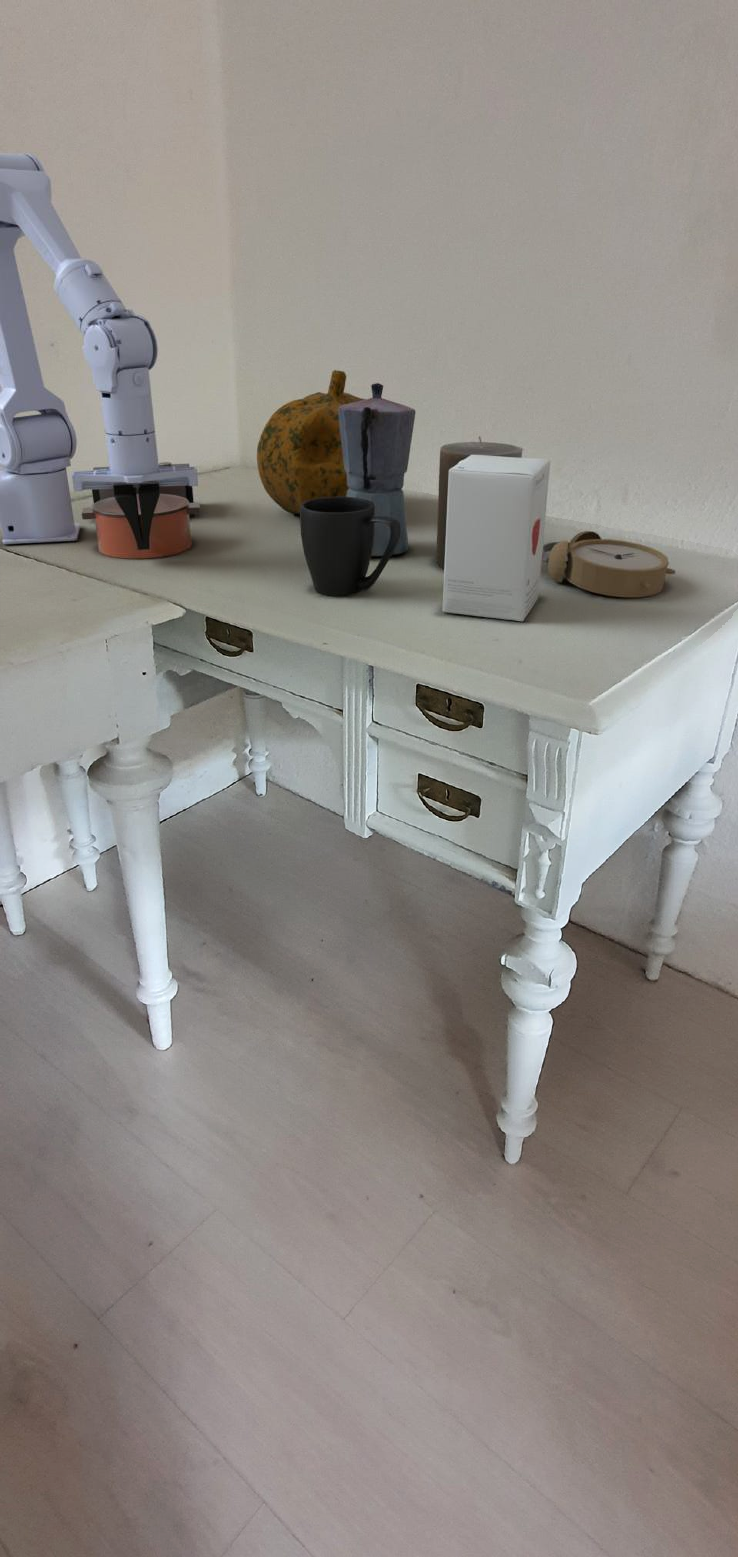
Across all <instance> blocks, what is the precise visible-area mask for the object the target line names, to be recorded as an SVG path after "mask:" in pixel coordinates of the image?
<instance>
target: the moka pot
mask: <svg viewBox="0 0 738 1557" xmlns="http://www.w3.org/2000/svg"><path fill="white" fill-rule="evenodd" d="M370 387H371V393H372V397H370V398H365V399H366V400H362V401H357V402H353V403H349V404H345V405H342V406H339V407H338V415H339V424H340V434H341V443H342V452H343V461H344V469H345V470H346V473H347V486H348V487H349V489H348V491H347V496H346V497H354V498H361V499H365V500H369V501H371V502H373V504H374V506H375V517H376V516H384V517H391V518H394V519H396V520H398V521H399V523H400V537H399V541H398V543H397V546H396V548H395V550H394V552H393V553H392V555H391V556H396V555H401V554H404V553H406V552H407V551H408V550H409V537H408V531H407V530H408V529H407V518H406V517H407V516H406V507H405V506H406V505H405V496H404V490H403V488H404V484H405V474H406V473H407V472H408V469H409V468H408V467H409V460H410V453H411V445H412V440H413V434H414V427H415V419H416V409H415V408H412V407H410V406H408V405H405V404H401V403H398V402H395V401H392V400H390V399H389V400H388V399H385V398H382V396H383V391H384V390H383V389H384V385H383V384H381V383H379V382H376V383H372V384H371V385H370ZM390 534H391V531H390V527H389V525H388V524H387V523H384V522H375V533H374V542H373V549H372V554H371V557H383V555H384V553H385V550H386V548H387V546H388V543H389V540H390Z"/></svg>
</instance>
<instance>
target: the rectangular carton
mask: <svg viewBox="0 0 738 1557" xmlns="http://www.w3.org/2000/svg"><path fill="white" fill-rule="evenodd" d="M550 468H551V459H546V458H535V457H522V458H515V457H501V456H487V455H470V456H469V457H467V458H466V459H464V460H462V461H460V462H459V463H458V464H457V465H456V466H454V467H452V468H451V469H450V470H449V478H448V500H447V522H446V545H445V567H444V568H443V569H444V571H443V590H442V591H443V592H442V613H449V614H457V615H466V616H475V617H483V618H491V619H499V620H500V619H501V620H508V621H517V622H523V621H524V620H525V619H526V617H527V616H528V615H529V613H530V611H531V610H532V608H533V607H534V605H535V603H536V602H537V601H538V599H539V595H540V584H541V573H542V562H543V559H542V552H543V545H544V540H545V527H546V514H547V504H548V493H549V481H550V470H551V469H550Z"/></svg>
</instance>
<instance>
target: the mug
mask: <svg viewBox="0 0 738 1557" xmlns="http://www.w3.org/2000/svg"><path fill="white" fill-rule="evenodd" d="M375 522H384V523H387V524H388V525H389V527H390V531H391V534H390V540H389V543H388V546H387V548H386V550H385V553H384V555H383V556H381V558H380V560H379V562H378V563H377V565H376V567H375V569H374V570H373V571H372V572H371V574H370V575H368V576H367V574H368V570H369V567H370V563H371V558H372V556H371V554H372V549H373V542H374V533H375ZM299 525H300V527H299V528H300V538H301V544H302V549H303V555H304V558H305V562H306V565H307V569H308V573H309V575H310V578H311V581H312V586H313V589H314V591H315V592H316V593H318V594H320V595H324V596H328V597H329V596H330V597H345V596H352V595H355V594H359V593H360V592H362V591H366V590H368V589H370V588H371V587H373V585H375V583H376V582H377V580H378V579H379V577H380V576H381V574H382V573H383V571H384V570H385V567H386V566H387V564H388V563H389V561H390V559H391V557H392V556H393V555H392V553H393V552H394V550H395V548H396V546H397V543H398V541H399V537H400V523H399V521H398V520H396V519H394V518H391V517H384V516H376V517H375V506H374V504H373V502H371V501H369V500H365V499H361V498H354V497H322V498H315V499H311V500H308V501H305V502H303V503H301V505H300V514H299Z"/></svg>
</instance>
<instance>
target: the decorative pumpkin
mask: <svg viewBox="0 0 738 1557" xmlns="http://www.w3.org/2000/svg"><path fill="white" fill-rule="evenodd" d="M346 382H347V375H346V372H345V371H344V370H339V369H338V370H337V369H334V370H333V371H332V372H331V375H330V381H329V385H328V389H327V393H325V392H321V391H318V392H315V393H311V394H308V395H306V396H305V397H303V398H299V399H294V400H291V401H289V402H286V403H285V404H283V405H282V406H280V407H279V408H277V410H275V412H274V413H273V414H271V416H270V417H269V420H268V421H267V422H266V424H265V426H264V428H263V430H262V432H261V434H260V436H259V440H258V443H257V449H256V450H257V451H256V462H257V470H258V475H259V478H260V482H261V484H262V486H263V488H264V490H265V492H266V493H267V495H268V496H269V498H271V499H272V501H273V502H274V503H276V505H277V506H279V507H280V508H281V509H282V510H284V511H285V512H287V513H290V514H292V515H299V516H300V505H301V503H303V502H305V501H308V500H311V499H315V498H322V497H346V496H347V491H348V489H349V487H348V486H347V473H346V470H345V469H344V461H343V452H342V443H341V434H340V424H339V415H338V407H339V406H342V405H345V404H349V403H353V402H357V401H362V400H366V399H367V398H362V397H358V396H356V395H353V394H351V393H349V392H345V389H346Z"/></svg>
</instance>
